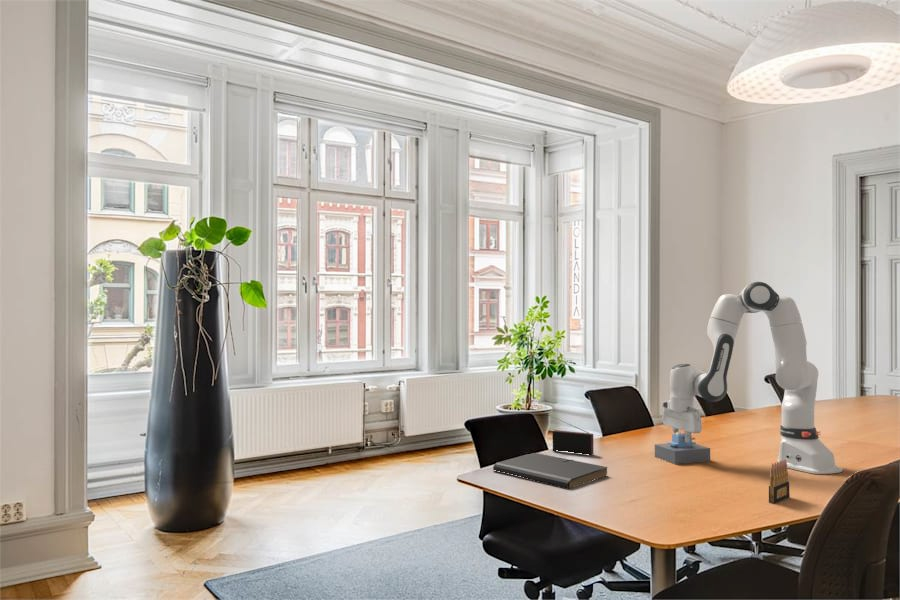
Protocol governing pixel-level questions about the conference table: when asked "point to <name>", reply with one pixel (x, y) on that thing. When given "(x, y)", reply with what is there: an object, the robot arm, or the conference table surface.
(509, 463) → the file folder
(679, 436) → the servo
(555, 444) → the radio
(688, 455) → the grey socket block
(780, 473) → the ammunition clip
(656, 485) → the conference table surface
